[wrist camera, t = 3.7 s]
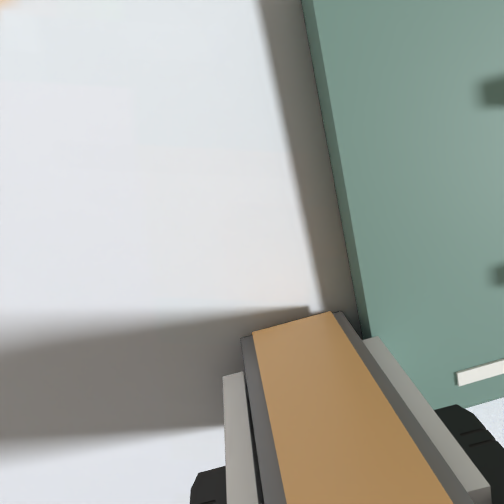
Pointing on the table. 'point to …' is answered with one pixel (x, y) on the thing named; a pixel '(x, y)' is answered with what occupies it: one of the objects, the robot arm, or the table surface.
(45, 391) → the table surface
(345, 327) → the grey rectangular block
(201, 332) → the table surface
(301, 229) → the table surface
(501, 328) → the board
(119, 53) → the table surface
